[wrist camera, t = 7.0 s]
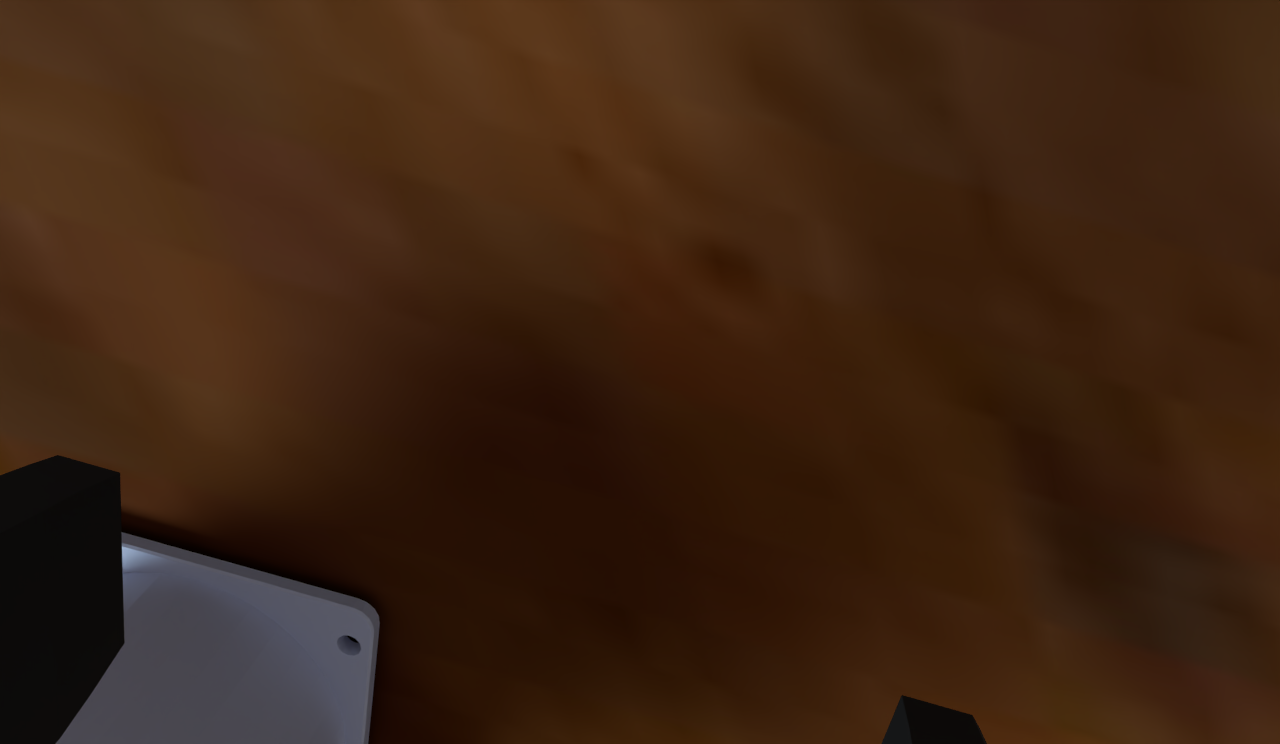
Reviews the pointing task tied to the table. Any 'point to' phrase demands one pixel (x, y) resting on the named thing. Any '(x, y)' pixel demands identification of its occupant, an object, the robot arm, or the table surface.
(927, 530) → the table surface
